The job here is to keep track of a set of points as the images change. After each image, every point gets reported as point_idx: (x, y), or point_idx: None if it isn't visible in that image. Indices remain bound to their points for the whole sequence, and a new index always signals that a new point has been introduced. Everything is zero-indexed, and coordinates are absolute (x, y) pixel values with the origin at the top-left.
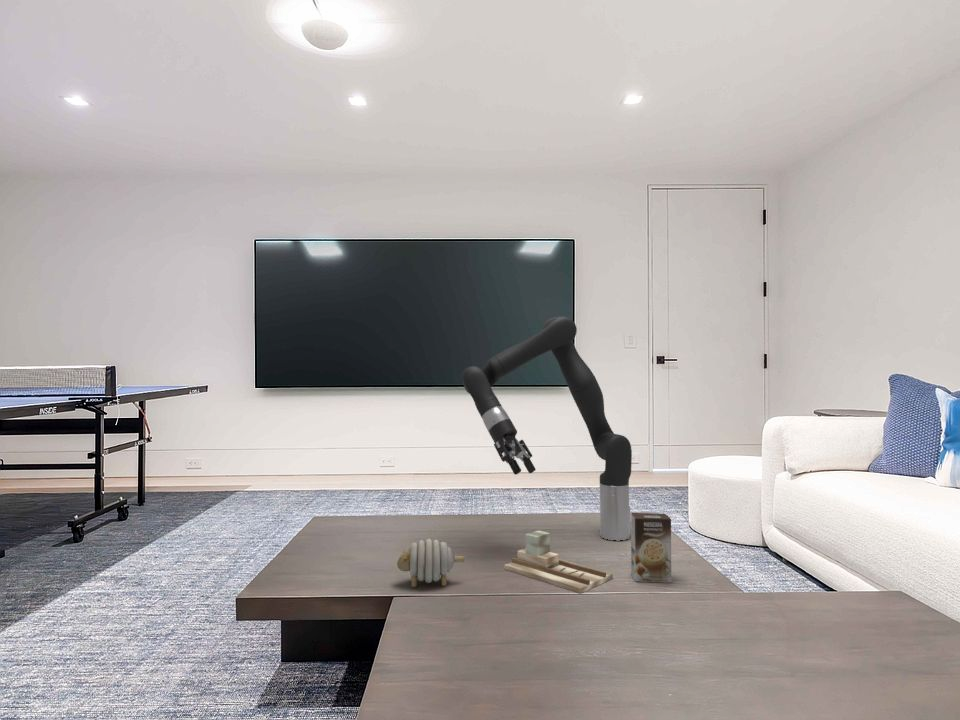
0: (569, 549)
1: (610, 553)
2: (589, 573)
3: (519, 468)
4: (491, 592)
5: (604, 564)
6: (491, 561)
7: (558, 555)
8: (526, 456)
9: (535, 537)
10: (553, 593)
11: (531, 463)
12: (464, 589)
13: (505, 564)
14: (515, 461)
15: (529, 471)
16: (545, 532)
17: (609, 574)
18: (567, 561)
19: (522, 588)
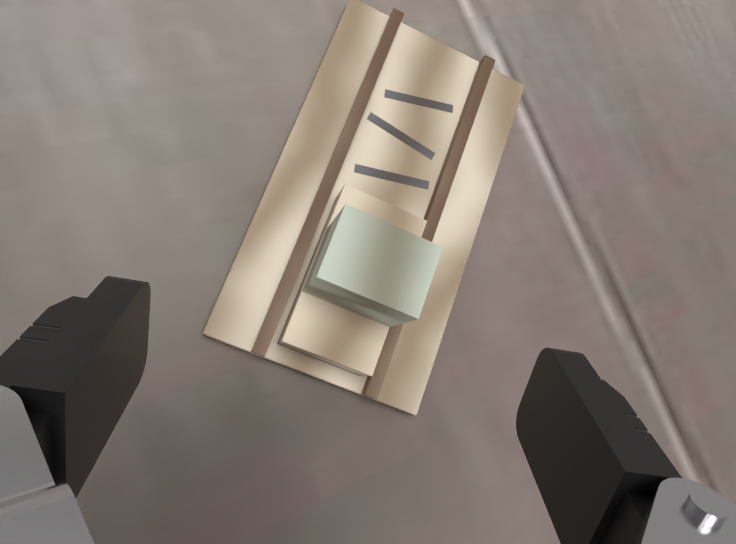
0: (11, 221)
1: (15, 29)
2: (380, 73)
3: (585, 365)
4: (626, 361)
5: (194, 44)
6: (338, 514)
7: (346, 186)
8: (41, 458)
9: (438, 256)
10: (550, 172)
11: (102, 332)
12: None
13: (413, 411)
14: (643, 447)
15: (139, 369)
16: (341, 228)
17: (361, 7)
18: (274, 175)
19: (555, 277)
